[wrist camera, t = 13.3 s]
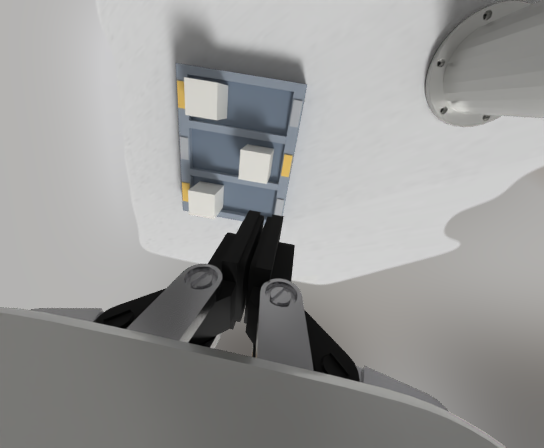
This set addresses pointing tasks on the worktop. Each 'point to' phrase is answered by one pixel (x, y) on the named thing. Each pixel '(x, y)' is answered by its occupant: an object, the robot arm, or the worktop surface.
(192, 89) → the tab
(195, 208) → the tab
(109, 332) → the robot arm
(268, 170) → the tab
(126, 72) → the worktop surface
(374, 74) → the worktop surface
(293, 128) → the switch bank
